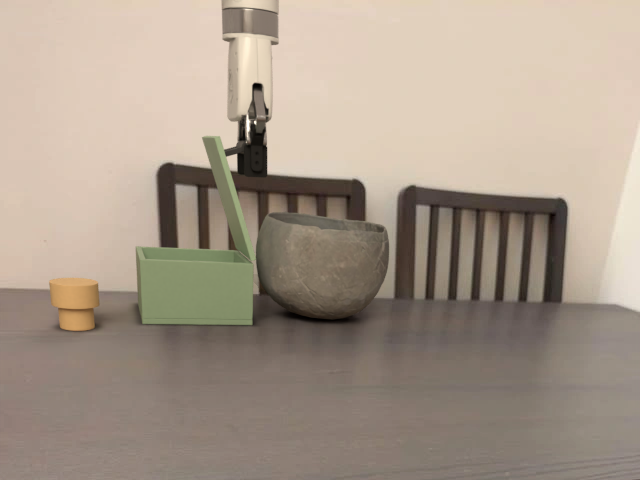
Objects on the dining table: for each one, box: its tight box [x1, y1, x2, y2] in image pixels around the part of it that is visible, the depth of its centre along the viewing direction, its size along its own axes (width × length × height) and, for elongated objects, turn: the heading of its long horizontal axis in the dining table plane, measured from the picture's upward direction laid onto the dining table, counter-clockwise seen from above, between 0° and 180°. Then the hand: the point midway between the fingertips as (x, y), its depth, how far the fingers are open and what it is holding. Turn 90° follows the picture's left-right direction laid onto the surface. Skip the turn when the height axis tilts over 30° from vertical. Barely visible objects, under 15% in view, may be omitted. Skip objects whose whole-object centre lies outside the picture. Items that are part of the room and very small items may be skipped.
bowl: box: [255, 211, 390, 320], centre depth 114 cm, size 20×20×15 cm
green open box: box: [135, 245, 255, 326], centre depth 109 cm, size 16×14×9 cm
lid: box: [201, 135, 256, 262], centre depth 106 cm, size 16×14×6 cm
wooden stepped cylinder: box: [48, 277, 101, 332], centre depth 97 cm, size 6×6×6 cm
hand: (252, 174), depth 105 cm, fingers closed on lid, 5 cm apart
